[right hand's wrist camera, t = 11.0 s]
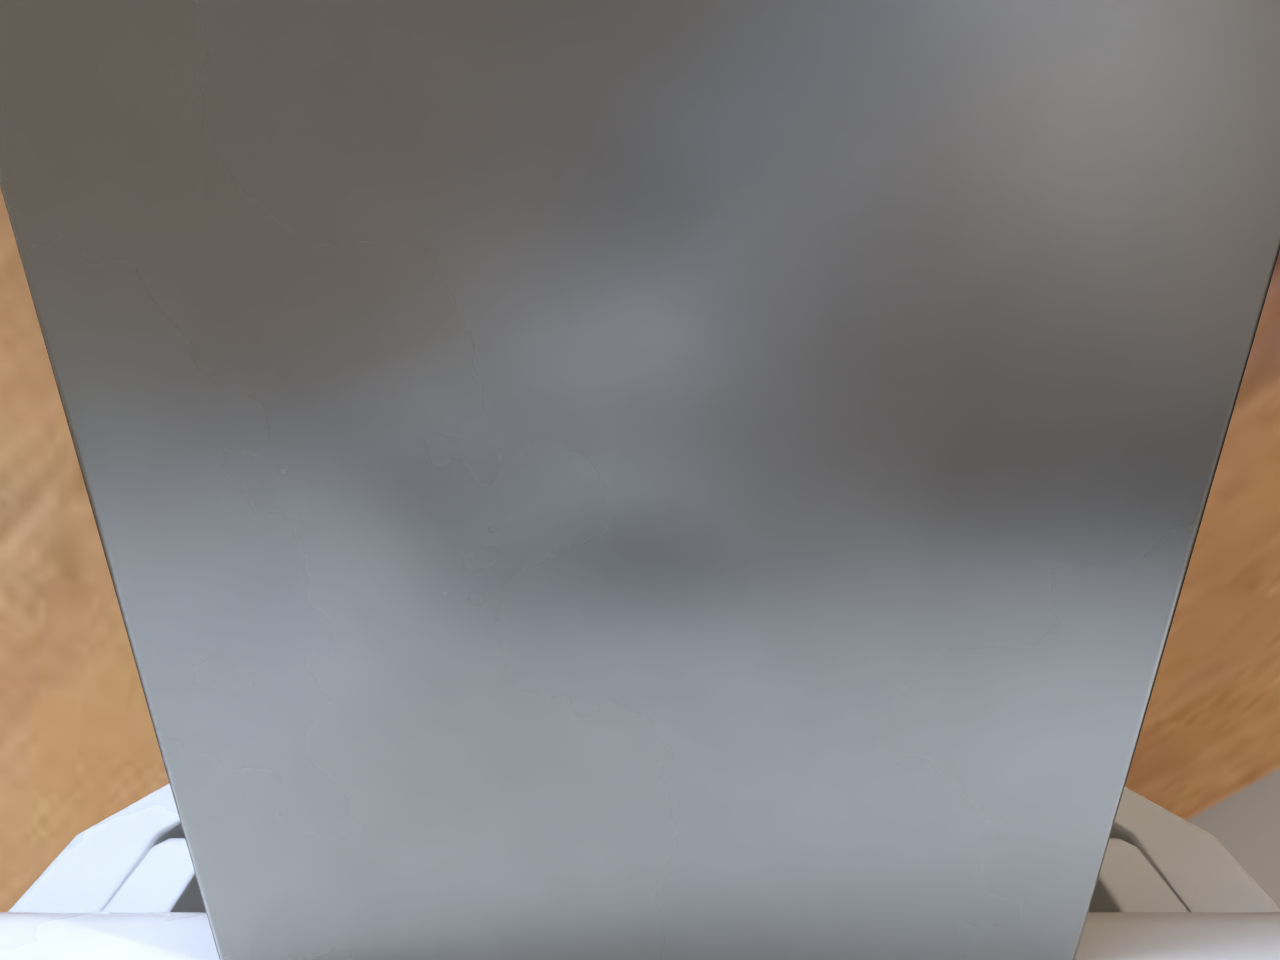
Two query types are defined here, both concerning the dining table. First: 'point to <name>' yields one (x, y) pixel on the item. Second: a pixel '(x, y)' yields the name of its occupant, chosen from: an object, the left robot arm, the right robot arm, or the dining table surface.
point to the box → (646, 445)
